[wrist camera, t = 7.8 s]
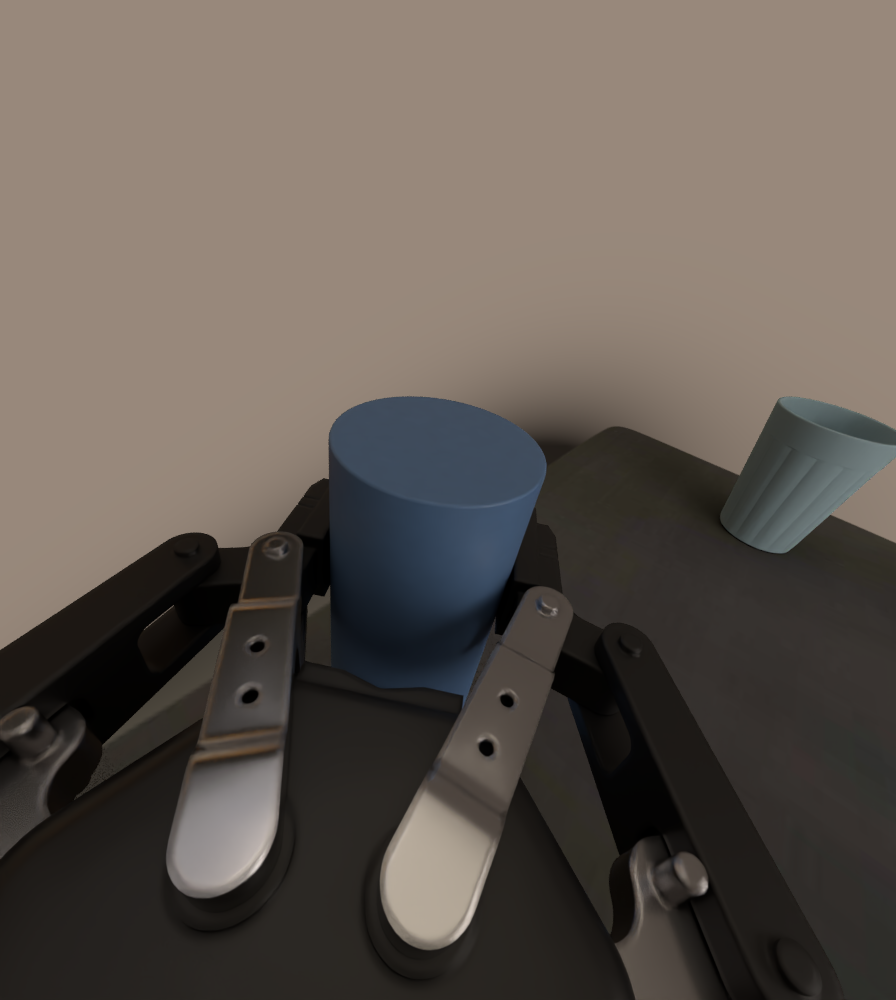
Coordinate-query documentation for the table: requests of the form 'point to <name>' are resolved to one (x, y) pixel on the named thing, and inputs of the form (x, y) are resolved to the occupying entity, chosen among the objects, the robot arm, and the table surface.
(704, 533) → the table surface
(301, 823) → the robot arm
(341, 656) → the blue canister
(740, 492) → the cup
